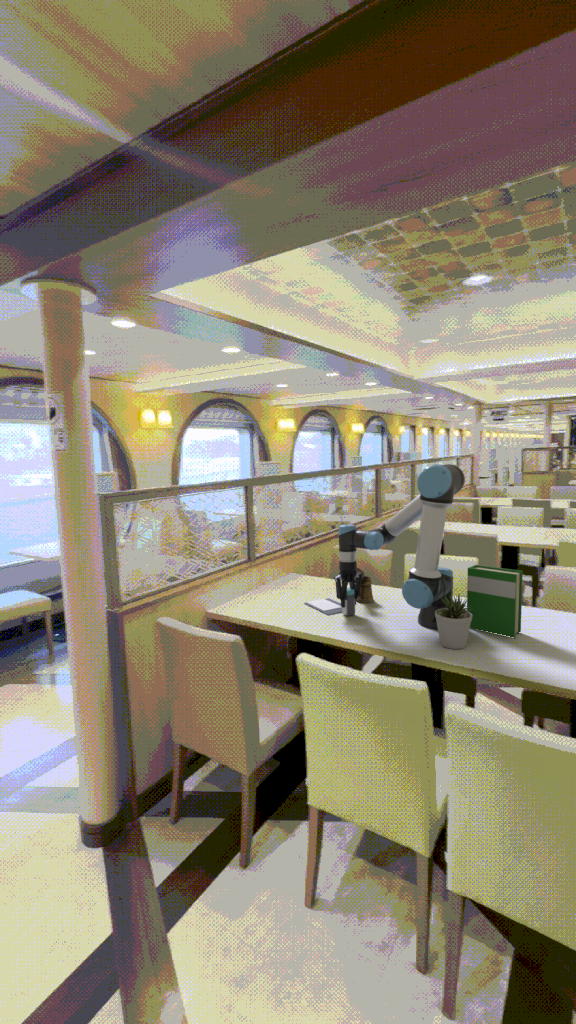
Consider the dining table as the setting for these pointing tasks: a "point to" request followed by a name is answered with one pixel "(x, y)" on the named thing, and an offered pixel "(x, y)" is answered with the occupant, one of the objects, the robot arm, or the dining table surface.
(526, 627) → the dining table surface
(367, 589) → the wooden mug
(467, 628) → the potted plant
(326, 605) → the writing mat
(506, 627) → the hardback book
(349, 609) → the marker
